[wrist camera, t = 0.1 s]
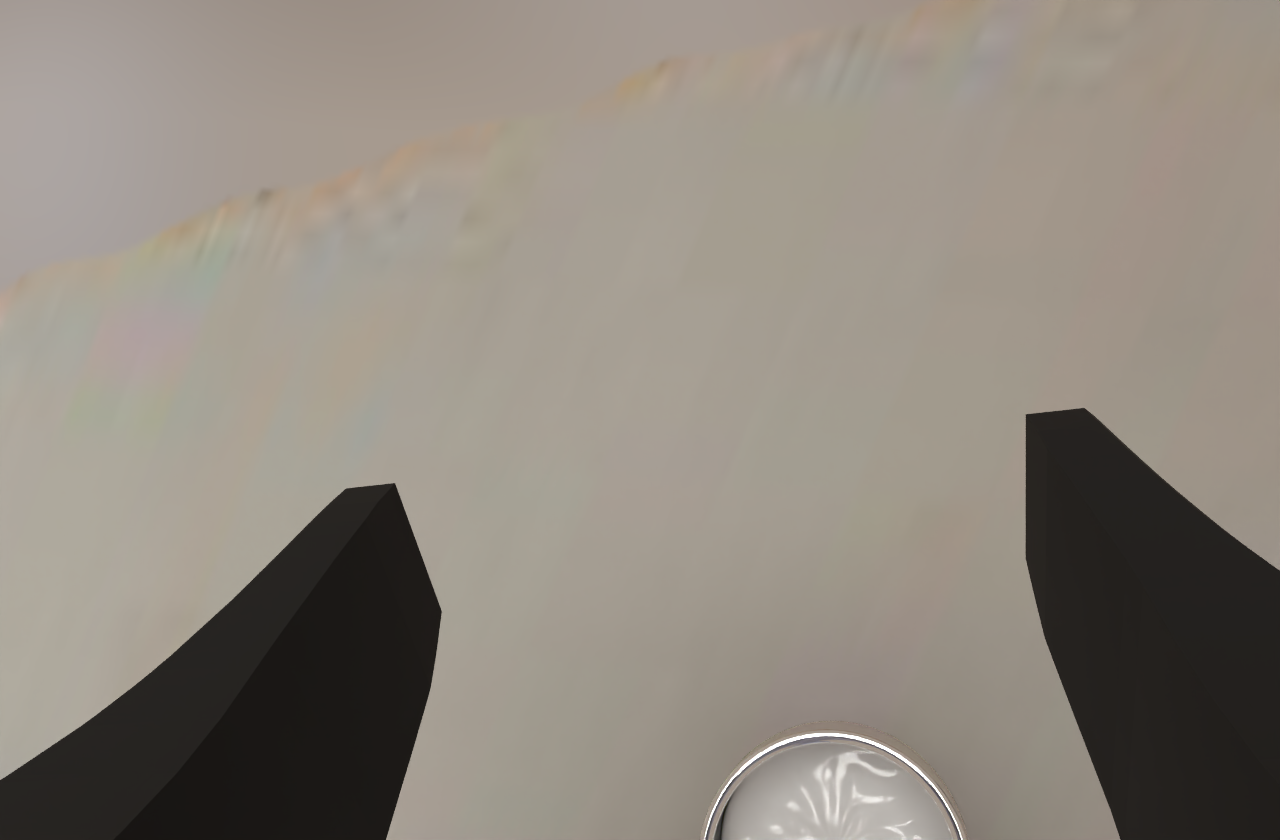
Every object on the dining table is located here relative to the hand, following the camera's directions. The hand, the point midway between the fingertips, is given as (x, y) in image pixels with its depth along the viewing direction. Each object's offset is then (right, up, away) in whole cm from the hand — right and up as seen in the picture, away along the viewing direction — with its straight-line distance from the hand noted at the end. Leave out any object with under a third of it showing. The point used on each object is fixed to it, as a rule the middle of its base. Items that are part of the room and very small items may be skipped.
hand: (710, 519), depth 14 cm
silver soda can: (+7, -13, +29) cm, 33 cm away
